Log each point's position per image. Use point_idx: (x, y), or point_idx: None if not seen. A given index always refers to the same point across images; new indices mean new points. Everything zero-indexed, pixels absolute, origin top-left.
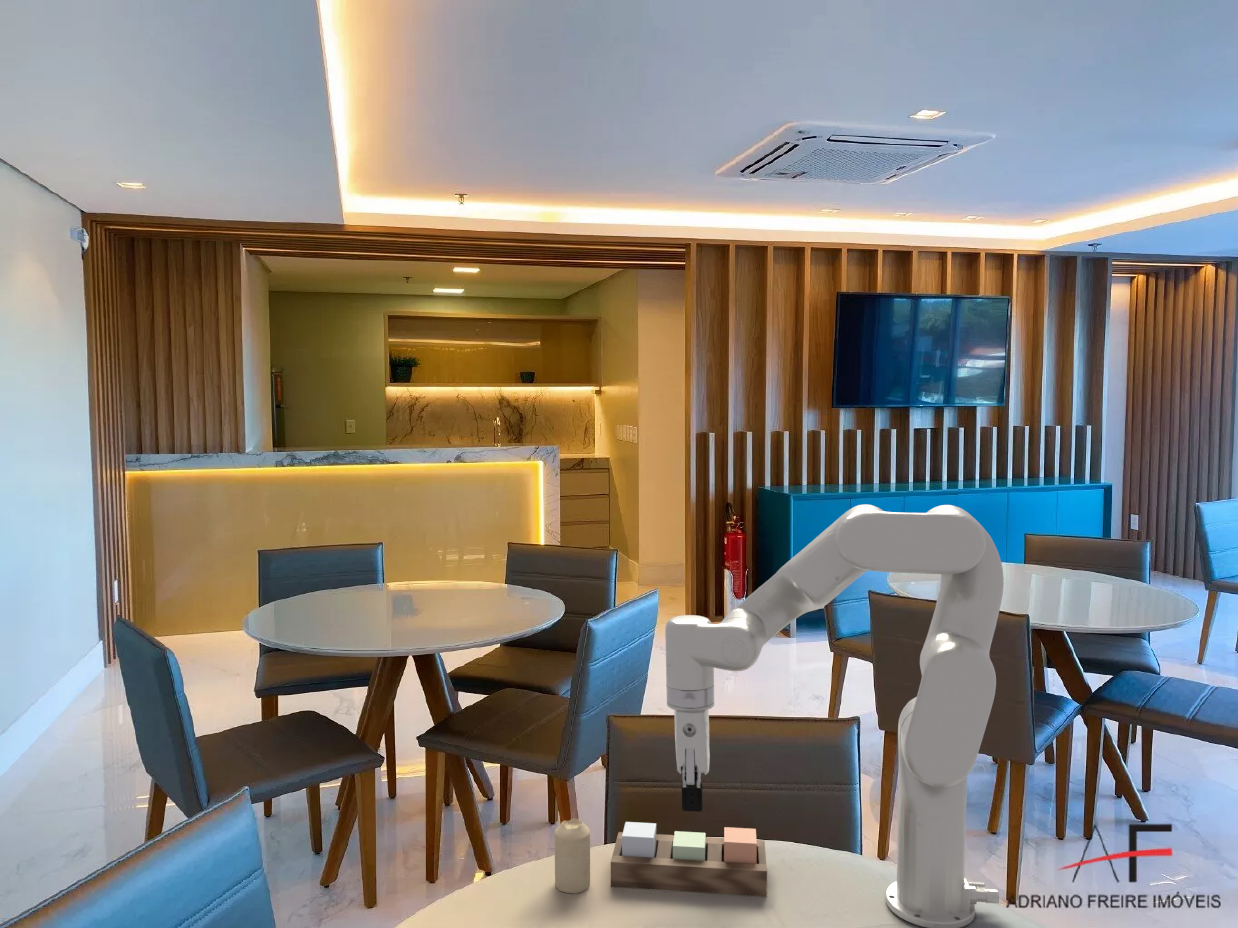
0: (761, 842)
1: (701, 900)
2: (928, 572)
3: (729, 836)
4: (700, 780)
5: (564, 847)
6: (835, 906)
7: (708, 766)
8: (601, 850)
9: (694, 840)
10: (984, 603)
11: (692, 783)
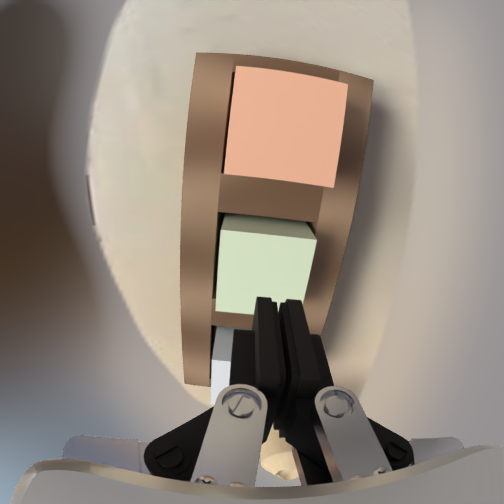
0: (210, 60)
1: (356, 223)
2: None
3: (297, 164)
4: (265, 399)
5: None
6: None
7: (496, 477)
8: (178, 371)
9: (270, 264)
10: None
11: (454, 445)
